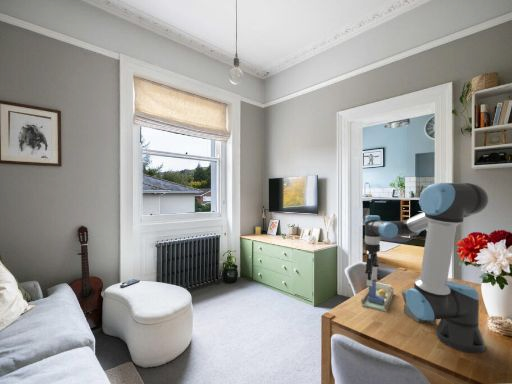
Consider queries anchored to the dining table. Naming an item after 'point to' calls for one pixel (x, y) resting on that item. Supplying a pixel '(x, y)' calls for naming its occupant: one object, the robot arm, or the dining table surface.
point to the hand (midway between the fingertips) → (371, 281)
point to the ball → (382, 292)
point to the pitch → (386, 298)
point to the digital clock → (409, 312)
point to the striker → (374, 293)
